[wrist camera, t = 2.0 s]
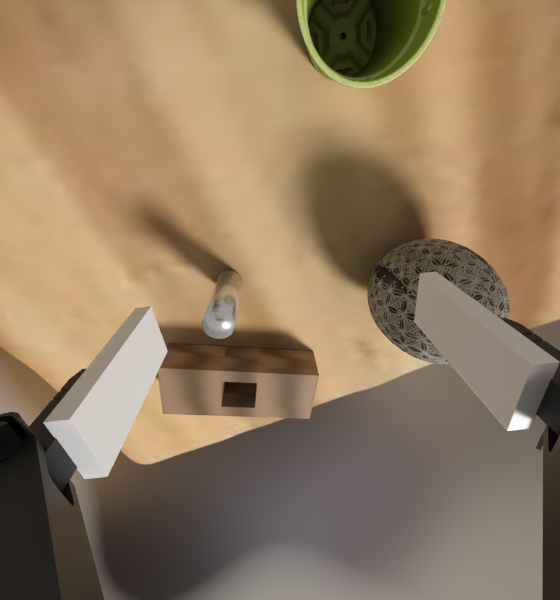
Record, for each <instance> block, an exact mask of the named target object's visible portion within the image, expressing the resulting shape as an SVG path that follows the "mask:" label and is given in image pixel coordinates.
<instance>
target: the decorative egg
mask: <svg viewBox="0 0 560 600" xmlns="http://www.w3.org/2000/svg"><path fill="white" fill-rule="evenodd" d="M428 272H437V273H439V274H440V275H441V276H443V277H444V278H445V279H447V280H448V281H449V282H451V283H452V284H454V285H455V286H456V287H458V288H459V289H460V290H462V291H463V292H465V293H466V294H467V295H469V296H470V297H471V298H473V299H474V300H476V301H477V302H478V303H480V304H481V305H482V306H484V307H485V308H487V309H488V310H489V311H491V312H492V313H493V314H495V315H496V316H497V317H499V318H507V319H509V318H510V303H509V297H508V293H507V291H506V288H505V286H504V284H503V282H502V280H501V278H500V277H499V275H498V274H497V273H496V271H495V270H494V269H493V267H492V266H491V265H489V264H488V263H487V262H486V261H485V260H484V259H483V258H482V257H480V256H479V255H478V254H476V253H475V252H473V251H472V250H470V249H468V248H466V247H464V246H462V245H459V244H456V243H453V242H451V241H446V240H441V239H419V240H414V241H410V242H407V243H404V244H401V245H400V246H398V247H396V248H394V249H392V250H391V251H390V252H388V253H387V254H386V255H385V256H384V257H383V258H382V259H381V260H380V261H379V262H378V264H377V265H376V267H375V268H374V270H373V272H372V274H371V277H370V280H369V284H368V295H367V296H368V304H369V309H370V312H371V314H372V317H373V319H374V321H375V323H376V324H377V326H378V327H379V329H380V330H381V331H382V333H383V334H384V335H385V336H386V337H387V338H388V339H389V340H390V341H391V342H392V343H393V344H395V345H396V346H397V347H399V348H400V349H401V350H403V351H404V352H406V353H408V354H410V355H411V356H413V357H416V358H418V359H421V360H424V361H427V362H431V363H436V364H449V365H450V363H449V362H448V361H447V360H446V359H445V358H444V356H443V355H442V354H441V353H440V352H439V350H438V349H437V348H436V347H435V346H434V345H433V343H432V342H431V341H430V340H429V339H428V338H427V336H426V335H425V334H424V333H423V332H422V330H421V329H420V328H419V327H418V326H417V325H416V323H415V322H414V317H415V309H416V301H417V293H418V284H419V276H420V273H428Z"/></svg>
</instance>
